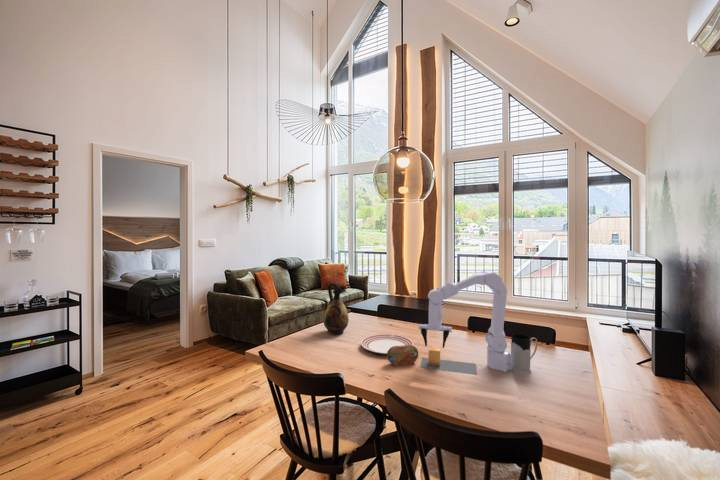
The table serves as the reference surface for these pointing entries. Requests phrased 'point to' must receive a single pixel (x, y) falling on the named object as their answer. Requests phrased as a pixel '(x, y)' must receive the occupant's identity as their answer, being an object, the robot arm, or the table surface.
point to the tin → (402, 354)
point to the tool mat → (451, 366)
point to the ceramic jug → (335, 312)
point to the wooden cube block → (434, 356)
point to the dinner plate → (384, 342)
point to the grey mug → (521, 353)
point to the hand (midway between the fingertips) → (434, 346)
